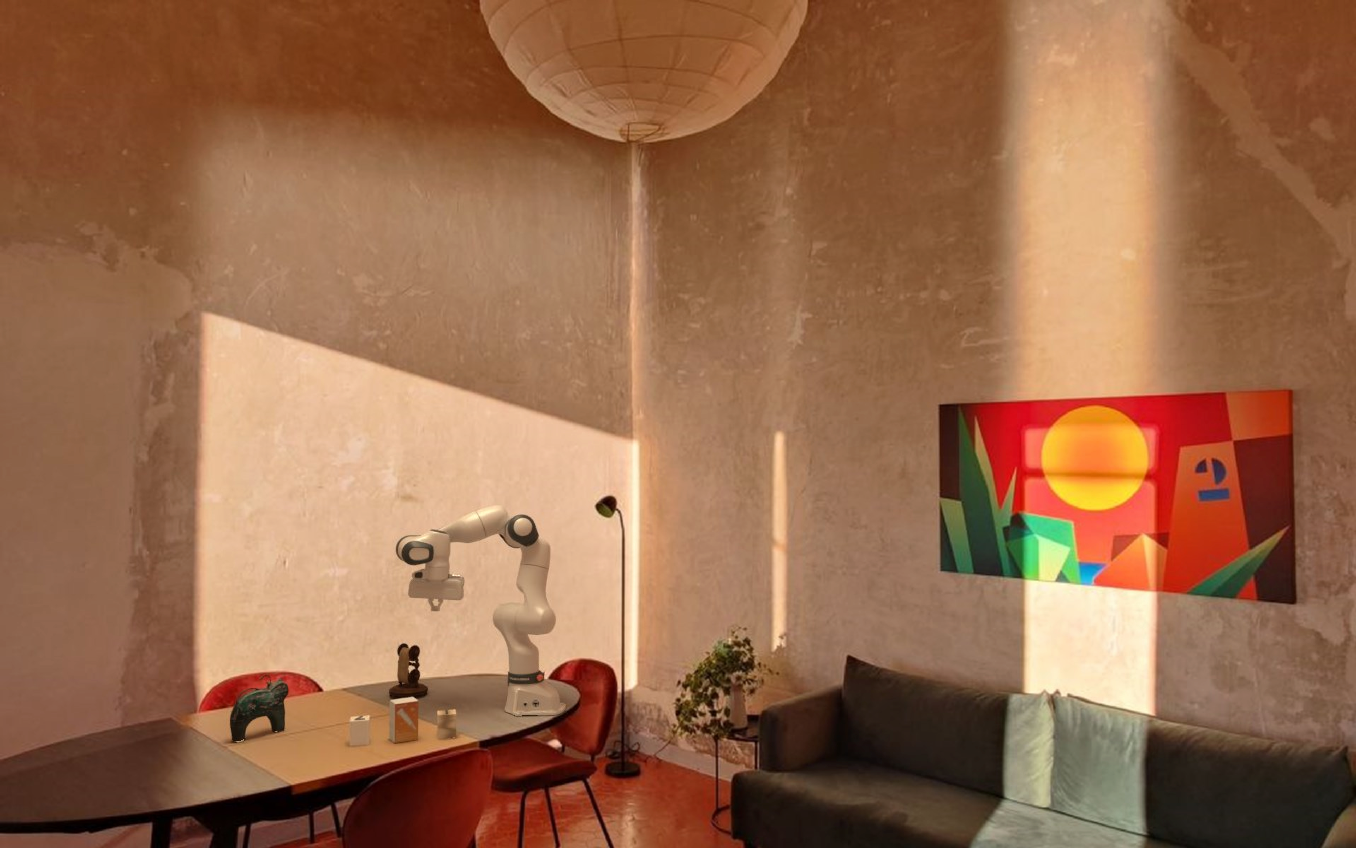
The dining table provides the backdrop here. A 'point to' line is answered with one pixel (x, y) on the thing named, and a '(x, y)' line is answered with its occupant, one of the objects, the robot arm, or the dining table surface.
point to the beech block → (446, 724)
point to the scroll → (403, 675)
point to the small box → (403, 719)
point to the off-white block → (359, 730)
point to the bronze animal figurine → (259, 708)
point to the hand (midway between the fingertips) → (435, 611)
